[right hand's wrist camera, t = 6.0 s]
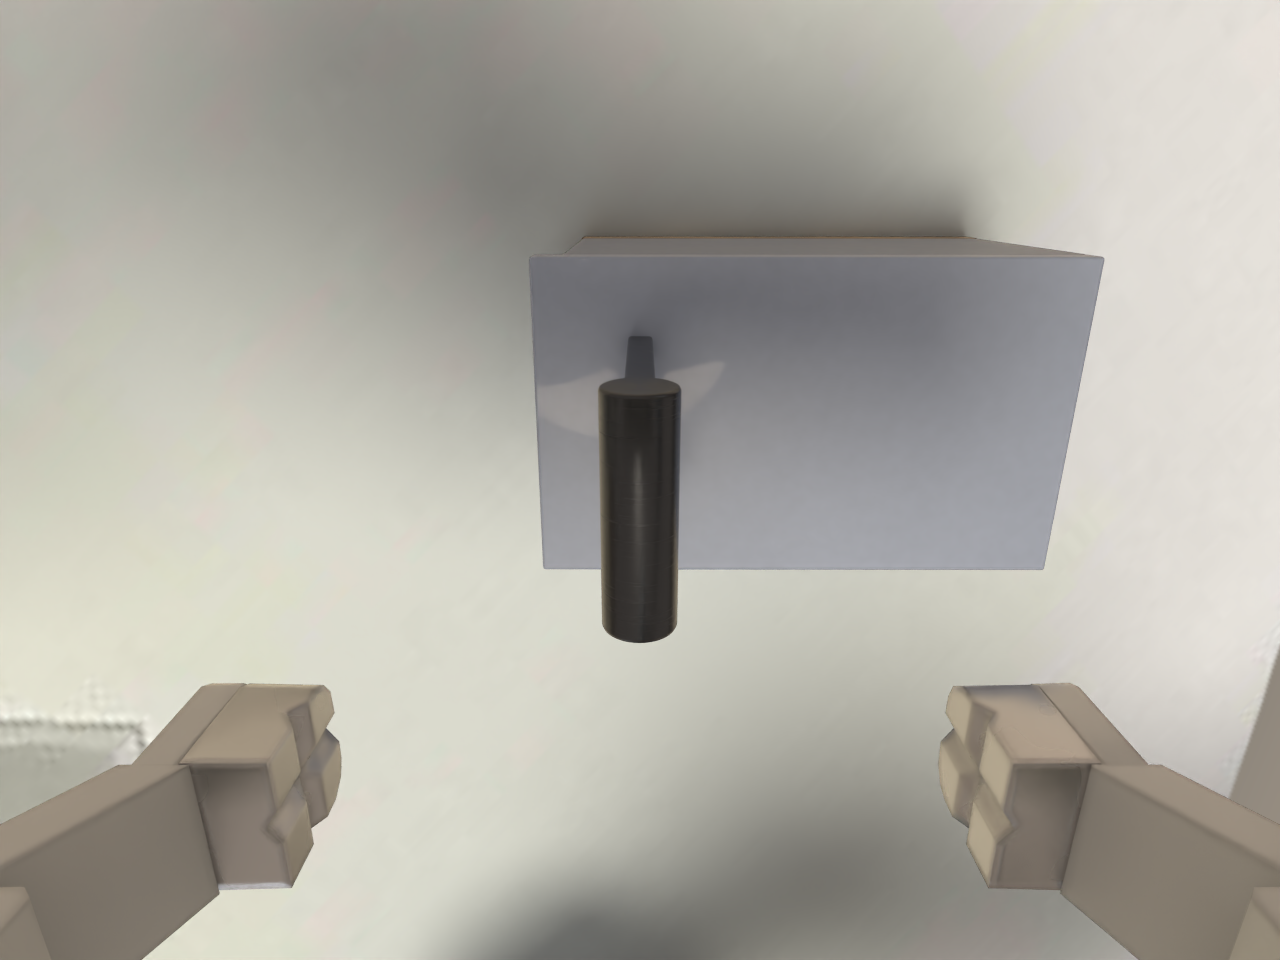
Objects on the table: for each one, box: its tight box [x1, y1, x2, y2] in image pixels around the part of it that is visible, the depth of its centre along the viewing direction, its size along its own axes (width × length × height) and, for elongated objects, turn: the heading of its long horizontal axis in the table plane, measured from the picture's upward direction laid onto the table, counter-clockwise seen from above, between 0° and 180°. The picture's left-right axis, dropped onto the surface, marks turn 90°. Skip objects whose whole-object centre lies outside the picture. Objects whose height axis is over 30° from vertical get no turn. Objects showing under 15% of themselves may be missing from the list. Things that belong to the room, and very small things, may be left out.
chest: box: [565, 237, 1085, 255], centre depth 29 cm, size 15×10×9 cm, turn 90°
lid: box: [529, 254, 1104, 643], centre depth 20 cm, size 16×10×9 cm, turn 90°
